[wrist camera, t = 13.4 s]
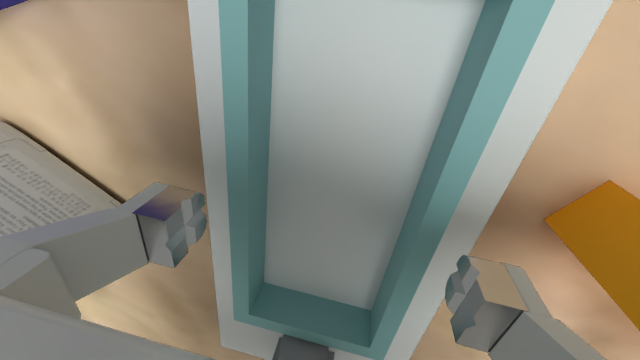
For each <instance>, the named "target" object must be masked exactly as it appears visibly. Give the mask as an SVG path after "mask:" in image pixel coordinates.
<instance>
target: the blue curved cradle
mask: <svg viewBox="0 0 640 360" xmlns="http://www.w3.org/2000/svg"><path fill="white" fill-rule="evenodd" d="M25 1H27V0H0V10H2V9H5V8H8V7H10V6H13V5H16V4H19V3H22V2H25Z"/></svg>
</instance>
